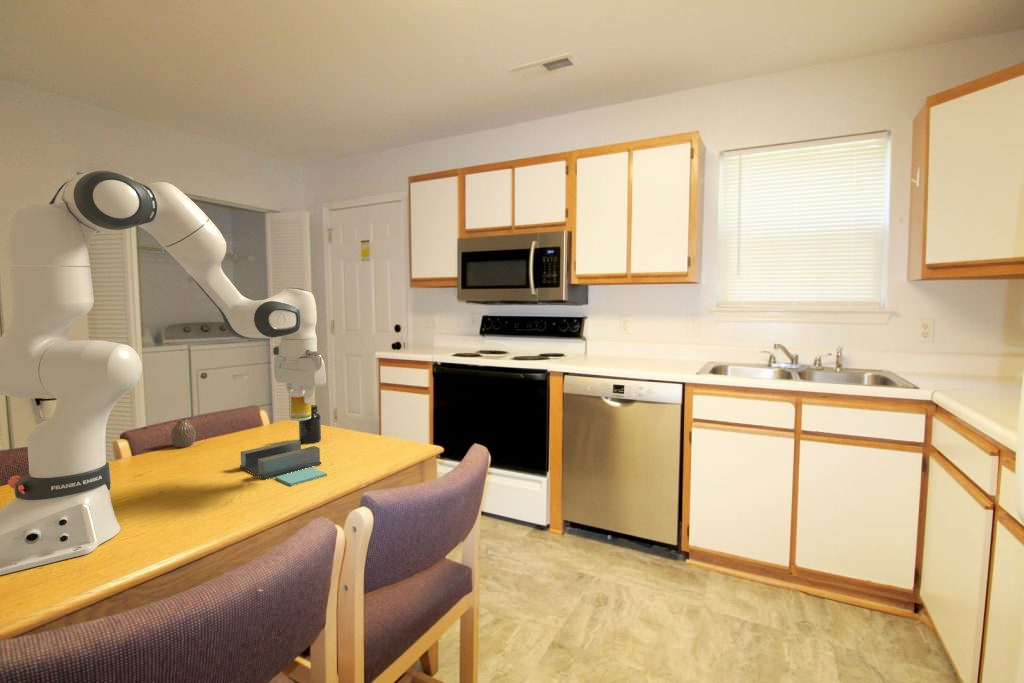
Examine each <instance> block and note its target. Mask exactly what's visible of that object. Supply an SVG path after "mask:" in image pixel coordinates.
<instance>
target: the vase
mask: <svg viewBox="0 0 1024 683" xmlns="http://www.w3.org/2000/svg"><path fill="white" fill-rule="evenodd" d="M196 437H197V432H196V429H195V427H194V426H193V424H191V423H190V422H189V420H188V419H187V418H181V419H178V420H177V422H176V424H175V425H174V426H173V427H172V429H171V431H170V435H169V439H170V442H171V444H172V446H174V447H175V448H178V449H182V448H183V449H185V448H189V447H191V446H192V445H193V444H194V443H195V441H196Z"/></svg>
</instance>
